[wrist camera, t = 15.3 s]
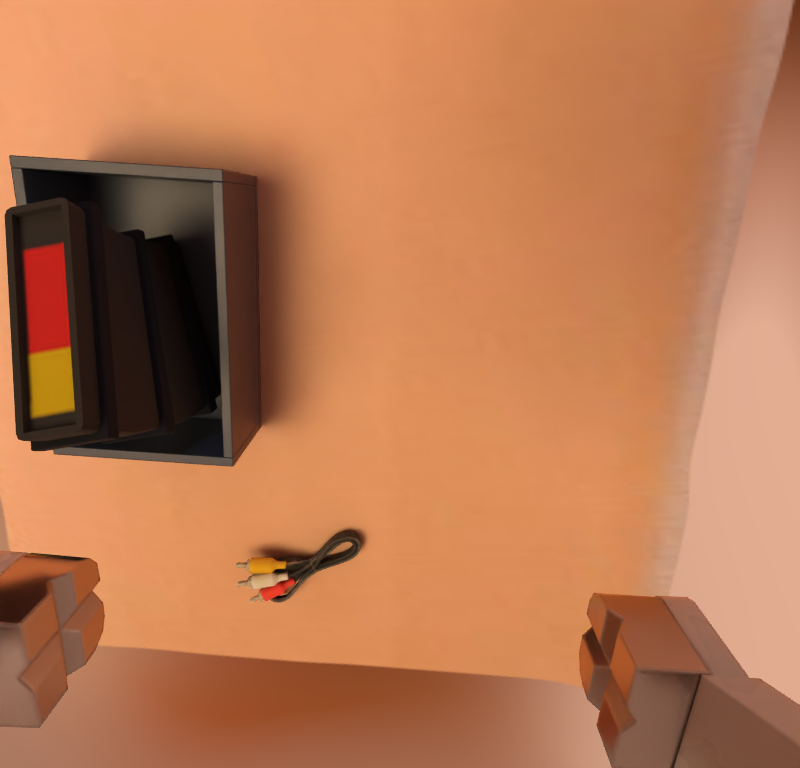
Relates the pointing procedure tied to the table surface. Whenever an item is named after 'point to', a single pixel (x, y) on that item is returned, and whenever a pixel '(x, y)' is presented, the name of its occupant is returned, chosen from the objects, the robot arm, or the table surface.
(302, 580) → the composite cable
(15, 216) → the magazine
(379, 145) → the table surface
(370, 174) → the table surface
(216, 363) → the box
